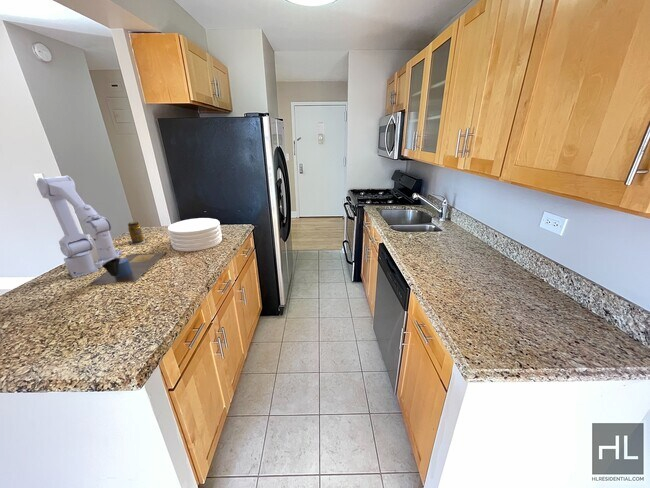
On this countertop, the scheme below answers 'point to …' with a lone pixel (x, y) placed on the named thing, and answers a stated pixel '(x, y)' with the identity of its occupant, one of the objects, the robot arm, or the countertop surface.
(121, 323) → the countertop surface
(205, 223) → the plate stack
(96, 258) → the foam cup
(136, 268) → the board
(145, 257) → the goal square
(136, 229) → the condiment
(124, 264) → the can
